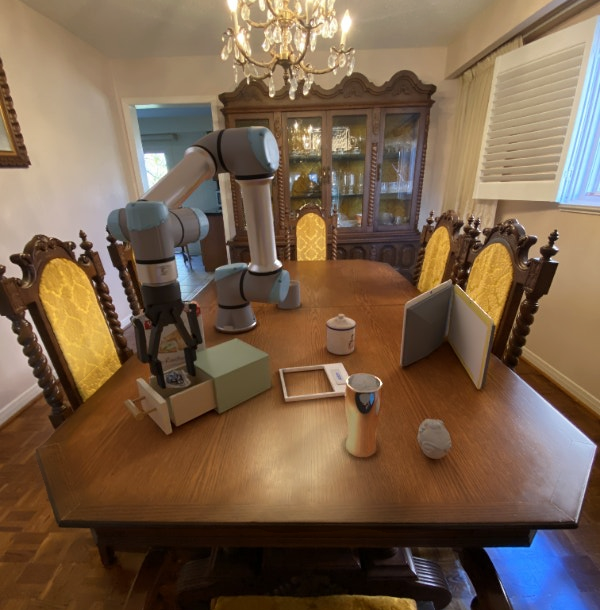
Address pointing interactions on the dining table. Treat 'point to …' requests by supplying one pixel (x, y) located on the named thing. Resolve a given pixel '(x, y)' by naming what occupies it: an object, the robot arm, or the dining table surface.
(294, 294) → the coffee mug
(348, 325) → the teacup with lid
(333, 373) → the photo frame
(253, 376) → the cabinet
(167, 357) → the cracker box
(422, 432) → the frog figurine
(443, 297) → the grey folded panels
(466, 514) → the dining table surface
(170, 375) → the blueberries
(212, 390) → the drawer
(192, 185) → the robot arm
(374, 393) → the beer glass
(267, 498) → the dining table surface
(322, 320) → the dining table surface
